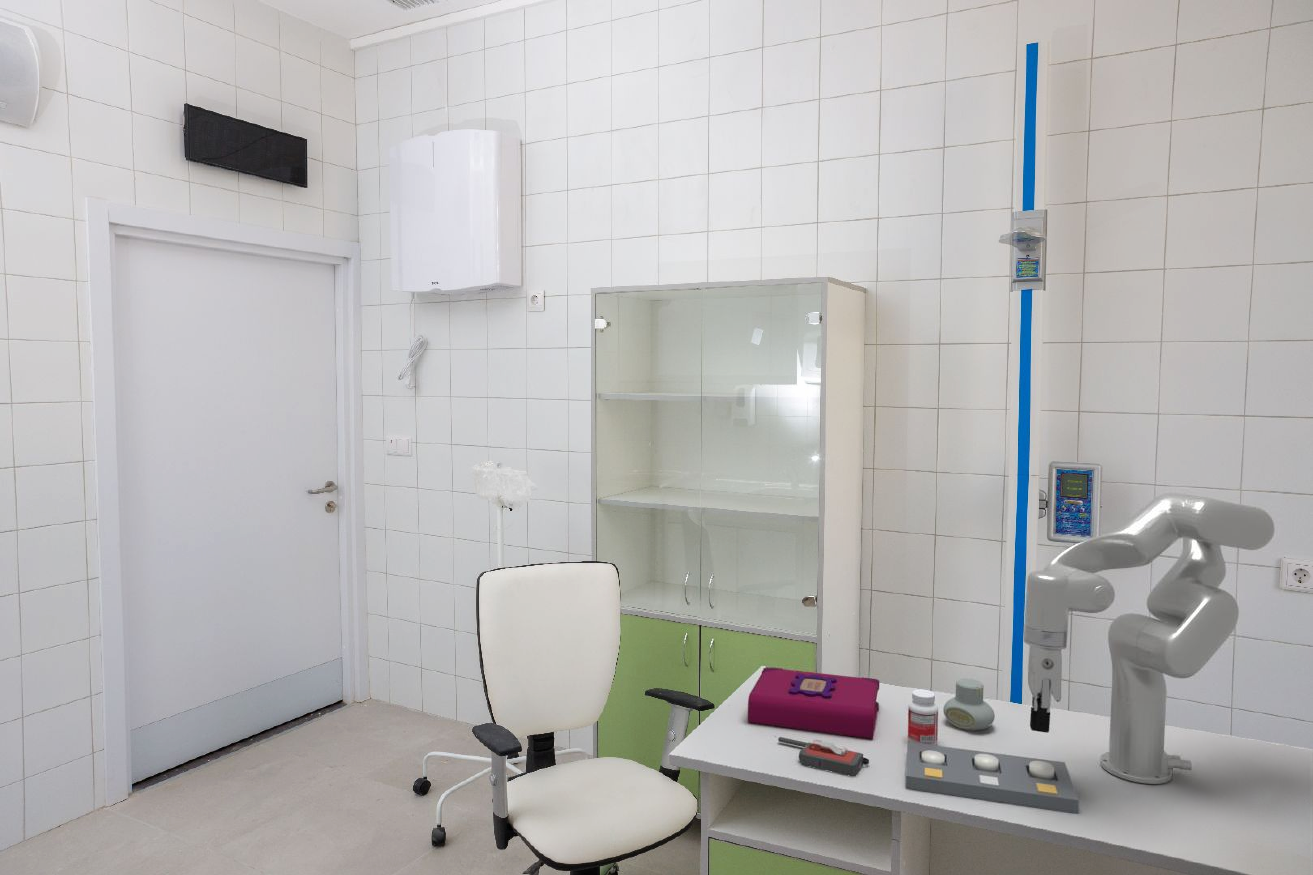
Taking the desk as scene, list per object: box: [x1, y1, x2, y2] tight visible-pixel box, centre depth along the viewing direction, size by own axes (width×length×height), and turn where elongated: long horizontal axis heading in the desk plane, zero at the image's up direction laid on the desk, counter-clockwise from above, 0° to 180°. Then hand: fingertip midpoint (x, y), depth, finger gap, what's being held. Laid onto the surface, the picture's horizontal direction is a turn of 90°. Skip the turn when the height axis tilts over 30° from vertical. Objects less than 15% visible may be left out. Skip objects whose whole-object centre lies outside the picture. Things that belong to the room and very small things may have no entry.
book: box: [747, 666, 880, 740], centre depth 196 cm, size 21×28×8 cm
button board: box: [905, 741, 1080, 814], centre depth 163 cm, size 30×16×3 cm, turn 72°
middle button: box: [974, 754, 999, 772], centre depth 165 cm, size 4×4×2 cm
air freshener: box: [943, 678, 996, 731], centre depth 190 cm, size 11×8×10 cm
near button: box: [1029, 761, 1054, 780], centre depth 162 cm, size 4×4×2 cm
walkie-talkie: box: [777, 736, 870, 778], centre depth 173 cm, size 9×4×20 cm
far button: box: [921, 750, 945, 765], centre depth 168 cm, size 4×4×2 cm
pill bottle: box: [907, 688, 939, 746], centre depth 181 cm, size 6×6×11 cm
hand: (1039, 729), depth 161 cm, fingers closed
